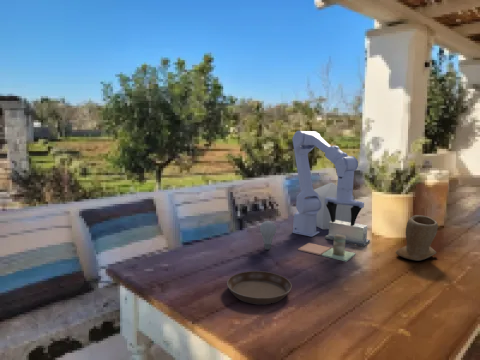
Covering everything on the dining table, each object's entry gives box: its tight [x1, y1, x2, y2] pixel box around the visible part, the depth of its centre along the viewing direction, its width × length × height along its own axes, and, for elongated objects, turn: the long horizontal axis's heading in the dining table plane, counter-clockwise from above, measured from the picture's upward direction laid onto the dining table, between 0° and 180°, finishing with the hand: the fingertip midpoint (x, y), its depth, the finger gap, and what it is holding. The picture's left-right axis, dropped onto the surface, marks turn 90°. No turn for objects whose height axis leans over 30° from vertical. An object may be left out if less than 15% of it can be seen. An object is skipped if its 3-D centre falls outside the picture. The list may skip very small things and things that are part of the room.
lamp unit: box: [324, 220, 371, 247], centre depth 146 cm, size 16×7×7 cm, turn 53°
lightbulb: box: [259, 220, 277, 251], centre depth 133 cm, size 6×6×11 cm
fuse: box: [332, 235, 346, 256], centre depth 128 cm, size 4×4×6 cm
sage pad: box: [321, 247, 356, 262], centre depth 129 cm, size 9×9×1 cm
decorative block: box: [307, 182, 356, 230], centre depth 170 cm, size 16×16×20 cm
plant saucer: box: [226, 270, 293, 305], centre depth 99 cm, size 18×18×3 cm
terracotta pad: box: [297, 242, 332, 256], centre depth 135 cm, size 9×9×1 cm
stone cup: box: [395, 214, 439, 262], centre depth 127 cm, size 15×12×15 cm
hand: (342, 223), depth 137 cm, fingers open, 7 cm apart
